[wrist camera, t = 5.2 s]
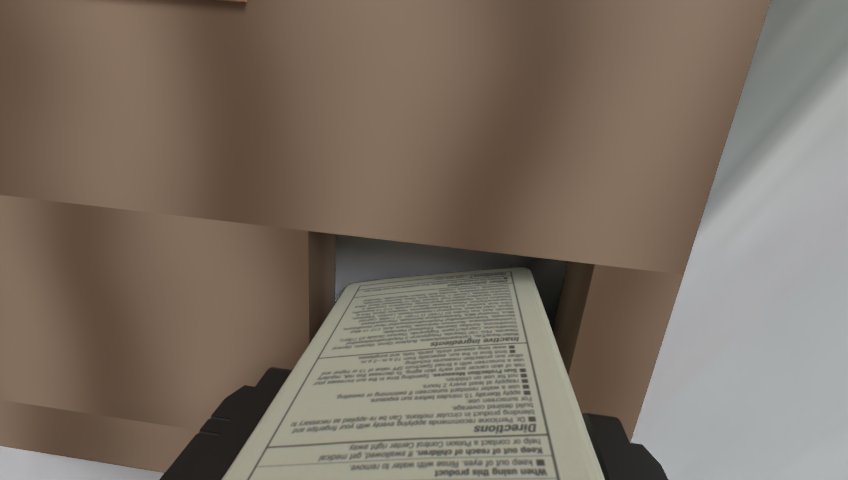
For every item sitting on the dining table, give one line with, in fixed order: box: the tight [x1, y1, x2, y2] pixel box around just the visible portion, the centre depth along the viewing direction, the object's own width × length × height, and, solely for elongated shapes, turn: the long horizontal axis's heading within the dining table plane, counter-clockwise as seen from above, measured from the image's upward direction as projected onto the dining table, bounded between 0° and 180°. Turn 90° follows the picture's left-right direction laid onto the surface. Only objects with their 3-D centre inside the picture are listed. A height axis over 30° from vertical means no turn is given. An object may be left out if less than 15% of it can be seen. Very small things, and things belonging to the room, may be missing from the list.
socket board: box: [0, 0, 771, 473], centre depth 12 cm, size 22×26×3 cm
